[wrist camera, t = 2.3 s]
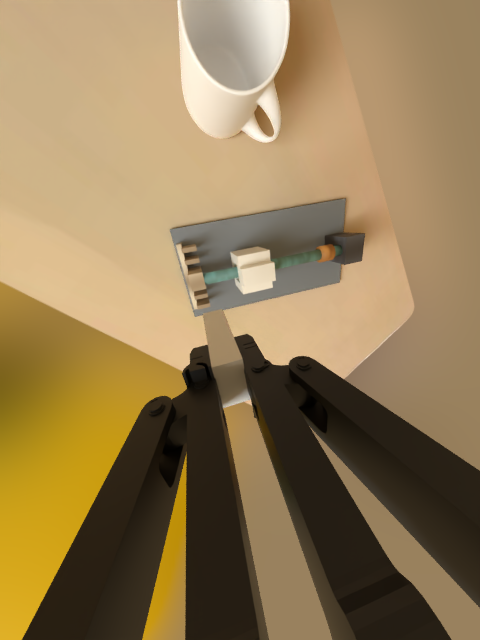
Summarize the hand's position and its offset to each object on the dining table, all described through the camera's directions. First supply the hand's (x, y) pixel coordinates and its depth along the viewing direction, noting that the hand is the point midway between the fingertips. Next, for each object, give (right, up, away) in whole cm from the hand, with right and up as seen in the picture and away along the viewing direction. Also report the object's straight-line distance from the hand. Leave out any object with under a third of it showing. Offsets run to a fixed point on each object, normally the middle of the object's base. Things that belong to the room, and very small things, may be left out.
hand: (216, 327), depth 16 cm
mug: (0, +27, +10) cm, 29 cm away
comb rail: (+6, +11, +19) cm, 22 cm away
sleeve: (+3, +9, +16) cm, 19 cm away
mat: (+6, +11, +19) cm, 22 cm away
